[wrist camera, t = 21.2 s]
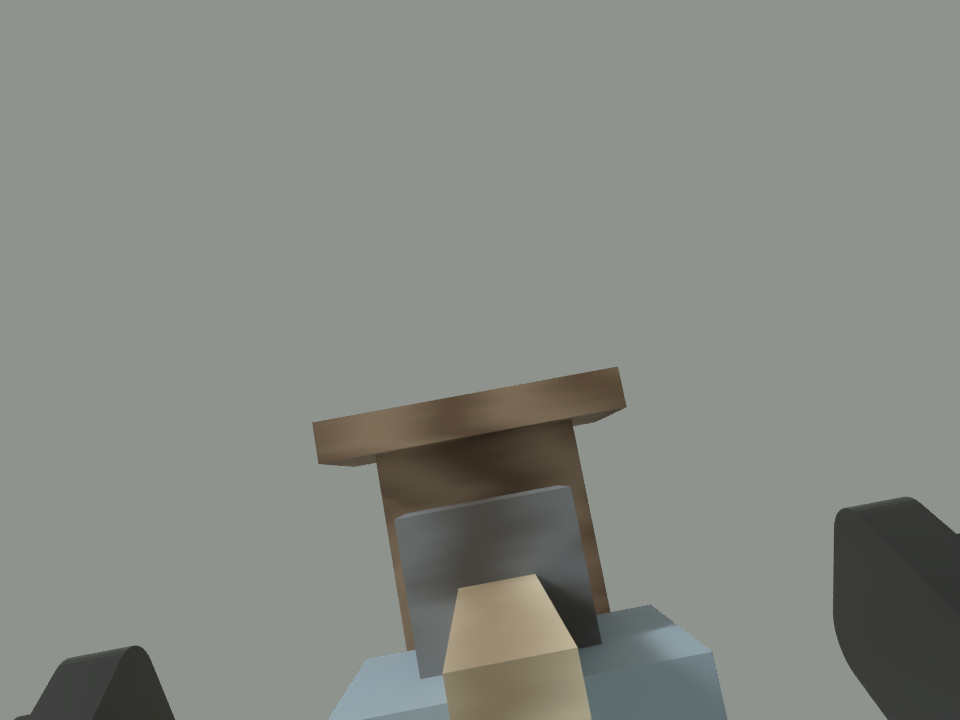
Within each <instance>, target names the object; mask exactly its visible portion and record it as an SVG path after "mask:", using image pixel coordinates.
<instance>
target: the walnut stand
mask: <svg viewBox="0 0 960 720" xmlns="http://www.w3.org/2000/svg"><path fill="white" fill-rule="evenodd" d="M625 407H626V403H625V398H624V393H623V388H622V384H621V379H620V374H619V370H618V367H614V368H608V369H602V370H597V371H592V372H586V373H581V374H575V375H570V376H564V377H559V378H553V379H548V380H542V381H537V382H532V383H527V384H521V385H515V386H510V387H504V388H499V389H494V390H488V391H483V392H477V393H472V394H466V395H461V396H455V397H450V398H444V399H439V400H434V401H428V402H423V403H417V404H412V405H407V406H401V407H395V408H390V409H385V410H379V411H373V412H368V413H363V414H357V415H351V416H346V417H341V418H335V419H330V420H324V421H319V422H313V430H314V437H315V443H316V450H317V457H318V463H319V464H325V465H339V466H352V467H355V466H361V465H366V464H372V463H377V469H378V475H379V481H380V487H381V493H382V499H383V506H384V511H385V518H386V524H387V530H388V536H389V543H390V549H391V555H392V560H393V567H394V573H395V580H396V586H397V592H398V597H399V604H400V610H401V616H402V623H403V628H404V635H405V641H406V647H407V651H411V650H415V644H414V638H413V632H412V626H411V620H410V614H409V608H408V602H407V596H406V589H405V583H404V577H403V571H402V565H401V559H400V553H399V547H398V541H397V535H396V529H395V522H394V519H396V518H398V517H400V516H402V515H404V514H407V513H412V512H417V511H423V510H428V509H433V508H439V507H444V506H449V505H455V504H460V503H465V502H471V501H476V500H481V499H487V498H492V497H497V496H503V495H508V494H514V493H519V492H524V491H530V490H535V489H540V488H546V487H551V486H556V485H561V486H570V487H571V490H572V495H573V500H574V505H575V510H576V515H577V520H578V525H579V530H580V535H581V540H582V545H583V550H584V555H585V560H586V565H587V570H588V575H589V581H590V586H591V591H592V596H593V601H594V606H595V611H596V615H599V614H605V613H610V608H609V604H608V598H607V593H606V588H605V583H604V579H603V574H602V568H601V563H600V559H599V554H598V549H597V544H596V539H595V534H594V529H593V524H592V519H591V514H590V509H589V504H588V499H587V494H586V489H585V484H584V479H583V474H582V469H581V465H580V460H579V454H578V449H577V444H576V439H575V434H574V430H573V426H577V425H582V424H588V423H593V422H596V421H598V420H601V419H603V418H605V417H607V416H609V415H611V414H613V413H615V412H617V411H619V410H621V409H623V408H625Z"/></svg>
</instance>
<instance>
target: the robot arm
mask: <svg viewBox="0 0 960 720" xmlns="http://www.w3.org/2000/svg"><path fill="white" fill-rule="evenodd" d="M833 583H834V584H833V619H834V626H835V631H836V635H837V638H838V642H839V645H840V647H841V650H842V652H843V655H844V657H845V659H846V661H847V663H848V665H849V666H850V668H851V670H852V671H853V673H854V674H855V676H856V677H857V678H858V680H859V681H860V682H861V684H862V685H863V686H864V688H865V689H866V690H867V692H868V693H869V695H870V696H871V697H872V699H873V700H874V701H875V703H876V704H877V706H878V707H879V708H880V710H881V711H882V712H883V714H884V715H885V717H886V718H887V719H888V720H960V534H956V533H955V532H953V531H952V530H951V529H950V528H949V527H948V526H946V525H945V524H944V523H943V522H942V521H940V520H939V519H938V518H937V517H936V516H935V515H934V514H932V513H931V512H930V511H929V510H928V509H927V508H925V507H924V506H923V505H922V504H921V503H919V502H918V501H917V500H915V499H913V498H910V497H901V498H895V499H890V500H885V501H880V502H875V503H870V504H864V505H859V506H854V507H848V508H843V509H841V510H840V511H839V512H838V513H837V515H836V518H835V524H834V581H833ZM15 720H175V718H174V716H173V713H172V711H171V709H170V706H169V704H168V701H167V699H166V696H165V694H164V691H163V689H162V686H161V684H160V681H159V679H158V677H157V674H156V672H155V669H154V667H153V665H152V662H151V660H150V658H149V655H148V654H147V653H146V651H145V650H144V649H143V648H141V647H139V646H130V647H124V648H119V649H114V650H109V651H103V652H99V653H93V654H88V655H83V656H77V657H72V658H68V659H66V660H65V661H63V662H62V663H61V664H60V665H59V666H58V668H57V669H56V671H55V673H54V675H53V676H52V678H51V680H50V681H49V683H48V685H47V687H46V688H45V690H44V692H43V694H42V695H41V697H40V699H39V700H38V702H37V704H36V706H35V708H34V709H33V711H32V713H31V714H30V715H25V716H20V717H17V718H16V719H15Z"/></svg>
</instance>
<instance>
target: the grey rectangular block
mask: <svg viewBox="0 0 960 720" xmlns="http://www.w3.org/2000/svg"><path fill="white" fill-rule="evenodd" d="M394 522H395V529H396V535H397V541H398V547H399V553H400V559H401V565H402V571H403V577H404V583H405V589H406V596H407V602H408V608H409V614H410V620H411V626H412V632H413V638H414V644H415V650H416V656H417V662H418V669H419V675H420V679H424V678H429V677H435V676H440V675H443V680H444V686H445V692H446V698H447V704H448V710H449V716H450V720H592V719H591V714H590V709H589V704H588V698H587V693H586V688H585V683H584V678H583V673H582V668H581V662H580V657H579V652H578V649H580V648H585V647H590V646H595V645H600V644H602V641H601V636H600V631H599V626H598V621H597V616H596V611H595V606H594V601H593V596H592V591H591V586H590V581H589V575H588V570H587V565H586V560H585V555H584V550H583V545H582V540H581V535H580V530H579V525H578V520H577V515H576V510H575V505H574V500H573V495H572V490H571V487H570V486H561V485H556V486H551V487H546V488H540V489H535V490H530V491H524V492H519V493H514V494H508V495H503V496H497V497H492V498H487V499H481V500H476V501H471V502H465V503H460V504H455V505H449V506H444V507H439V508H433V509H428V510H423V511H417V512H412V513H407V514H404V515H402V516H400V517H398V518H396V519H394Z"/></svg>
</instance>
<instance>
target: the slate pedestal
mask: <svg viewBox="0 0 960 720" xmlns="http://www.w3.org/2000/svg"><path fill="white" fill-rule="evenodd" d="M596 616H597V621H598V626H599V631H600V636H601V641H602V644H600V645H595V646H590V647H585V648H580V649H578V652H579V657H580V662H581V668H582V673H583V678H584V683H585V688H586V693H587V698H588V704H589V709H590V714H591V719H592V720H727V716H726V711H725V706H724V702H723V698H722V693H721V688H720V684H719V679H718V674H717V670H716V665H715V661H714V657H713V652H712V651H711V650H710V649H708V648H707V647H706V646H704V645H703V644H702V643H700V642H699V641H698V640H696V639H695V638H694V637H692V636H691V635H690V634H688V633H687V632H686V631H685V630H683V629H682V628H681V627H679V626H678V625H676V624H675V623H674V622H672V621H671V620H670V619H669V618H667V617H666V616H665V615H663V614H662V613H661V612H659V611H658V610H657V609H655V608H654V607H653V606H651V605H646V606H641V607H636V608H631V609H626V610H621V611H615V612H610V613H605V614H599V615H596ZM328 720H450V716H449V710H448V704H447V698H446V692H445V686H444V680H443V675H440V676H435V677H429V678H424V679H420V675H419V669H418V662H417V656H416V650H411V651H406V652H401V653H396V654H390V655H385V656H380V657H375V658H370V659H366V660H365V662H364V664H363V665H362V667H361V668H360V670H359V672H358V673H357V675H356V677H355V678H354V680H353V681H352V683H351V684H350V686H349V687H348V689H347V691H346V692H345V694H344V695H343V697H342V699H341V700H340V702H339V703H338V705H337V707H336V708H335V710H334V711H333V713H332V714H331V716H330V718H329V719H328Z"/></svg>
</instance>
